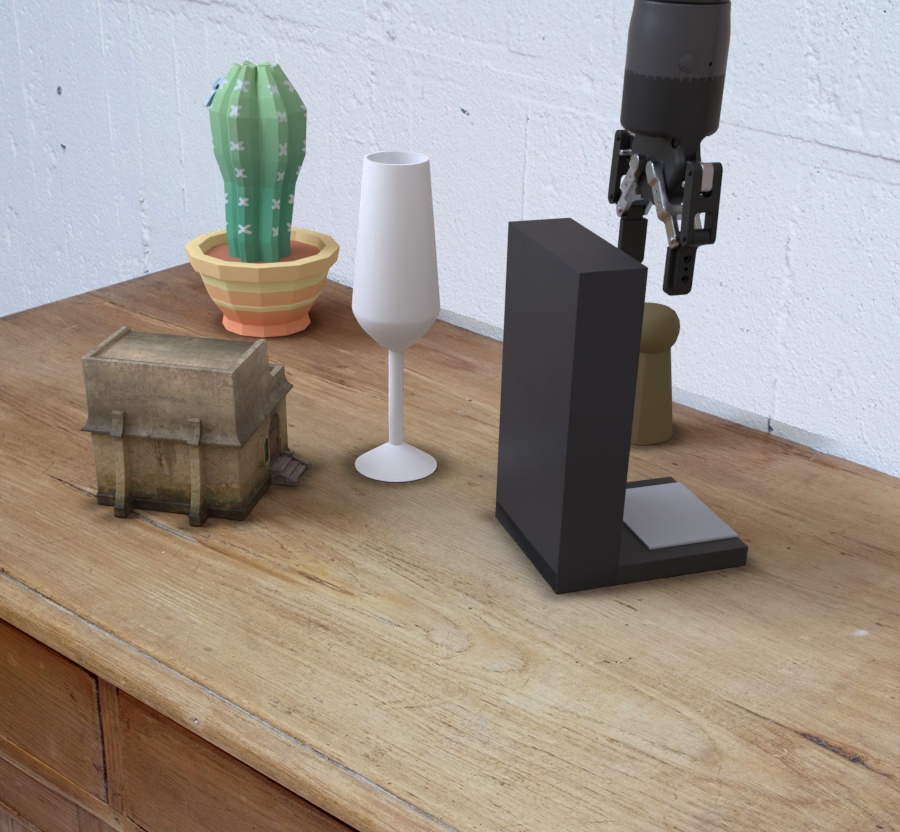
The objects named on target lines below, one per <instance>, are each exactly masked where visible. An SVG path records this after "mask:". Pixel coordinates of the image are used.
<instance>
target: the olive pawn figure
mask: <svg viewBox="0 0 900 832" xmlns="http://www.w3.org/2000/svg"><path fill="white" fill-rule="evenodd" d="M680 332H681V321H680V318H679V315H678V314H677V311H676V310H674V309H673V308H672V307H670V306H668V305H666V304H662V303H658V302H650V301H649V302H647V301H645V305H644V315H643V325H642V335H641V345H640V355H639V365H638V375H637V385H636V395H635V405H634V415H633V425H632V435H631V445H635V446H636V445H637V446H649V445H656V444H657V445H658V444H661V443H665V442H667V441H669V440H670V439H671V438H672V436H673V433H674V426H673V425H674V423H673V422H674V421H673V420H674V419H673V380H672V379H673V378H672V377H673V376H672V374H673V373H672V347H673V346H674V345H675V344H676V342H677V340H678V338H679V335H680Z"/></svg>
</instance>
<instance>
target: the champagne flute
mask: <svg viewBox="0 0 900 832" xmlns="http://www.w3.org/2000/svg"><path fill="white" fill-rule="evenodd" d="M430 161H431V160H430V157H429V155H427V154H424V153H420V152H415V151H409V150H408V151H406V150H383V151H374V152H369V153H367V154H365V155H363V159H362V168H361V169H362V172H361V184H360V197H359V208H358V222H357V233H356V248H355V262H354V272H353V275H354V276H353V287H352V300H351V309H352V314H353V316H354V317H355V319H356V321H357V323H358V324H359V326H360V327H361V329H362V330H363V331H364V332H365V333H367V335H368V336H370V338H371V339H373V341H375V342H376V343H377V344H378V345H379V346H380V347H382V348H384V349H387V351H388V441H386V442H385V443H383V444H381V445H378V446H377V447H375V448H372V449H370V450H368V451H367V452H365V453H363V454H361V455H359V456H358V457H357V458H356V459H355V461H354V467H355V469H356V471H357V472H358V473H359V474H361V475H362V476H365V477H367V478H369V479H372V480H375V481H381V482H389V483H401V482H404V483H405V482H411V481H417V480H421V479H424V478H426V477H428V476H430V475H432V474H433V473H434V472H435V471H436V469H437V467H438V463H437V460H436V459H435V458H434V457H433V456H432V455H431V454H429V453H427V452H426V451H423V450H421V449H419V448H417V447H416V446H413V445H411V444H409V443H407V442H406V441H404V390H405V389H404V387H405V386H404V384H405V383H404V380H405V379H404V375H405V371H404V369H405V367H404V366H405V365H404V364H405V361H404V360H405V358H404V355H405V353H404V352H405V350H406V349H407V350H408V349H409V348H410V347H412V346H413V345H414V344H416V343H417V342H418V341H419V340H420V339H421V338H422V337H424V335H425V334H427V333H428V332H429V331H430V329H431V328H432V326H433V325H434V324H435V323H436V321H437V319H438V317H439V316H440V312H441V298H440V283H439V270H438V257H437V244H436V232H435V230H436V229H435V218H434V217H435V216H434V204H433V203H434V202H433V190H432V175H431V162H430Z"/></svg>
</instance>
